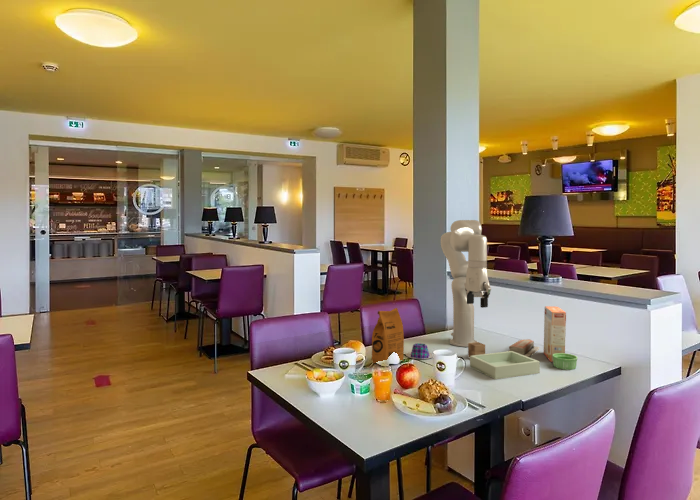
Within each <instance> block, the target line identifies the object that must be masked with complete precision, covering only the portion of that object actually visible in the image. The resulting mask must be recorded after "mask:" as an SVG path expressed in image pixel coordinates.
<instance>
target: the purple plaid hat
mask: <svg viewBox="0 0 700 500" xmlns="http://www.w3.org/2000/svg"><path fill="white" fill-rule="evenodd" d="M432 354H433V353H432V352H430V351H429V348H428V345H427V344H426V343H421V342H420V343H414V344H413V345H412V348H411V351H408V352H407V353H405V356H406V357H408V358H411V359H415V360H428V359H432V358H433V357H432Z"/></svg>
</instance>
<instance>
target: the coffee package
mask: <svg viewBox="0 0 700 500" xmlns="http://www.w3.org/2000/svg"><path fill="white" fill-rule="evenodd" d="M377 315H378V316H379V317H378V318H377V321H376V324H375V326H374V328H373V331H372V335H371V361H372V364H374V363H376V362H378V361H383V360H387V359H388V357H389V356H390V355H391V354H392V353H393V352H395V353H397V354H398V356H399V358H400V360H403V359H404V348H405V346H404V345H405V338H404V336H405V334H404V325H403V321H402V317H401V315H400V311H399V310H398V307H395V308H393V309H391V310H378V311H377ZM403 361H404V360H403Z"/></svg>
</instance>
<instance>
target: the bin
mask: <svg viewBox="0 0 700 500" xmlns="http://www.w3.org/2000/svg"><path fill="white" fill-rule="evenodd" d="M540 363H541V362H540V361H539V360H537V359H535V358H533V357H527V356H524V355H521V354H519V353H516V352H513V351H509V350H507V351H500V352H491V353H485V354H481V355H472V356H470V358H469V367H470V368H471V369H474V370H476V371H478V372H479V373H482V374H484V375H485V376H488V377H490V379H491V378H492V379H494V380H501V379H509V378H515V377H516V378H517V377H521V376H523V377H524V376H529V375H535V374H540V372H541V371H540V370H541V365H540Z"/></svg>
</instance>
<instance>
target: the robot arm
mask: <svg viewBox="0 0 700 500" xmlns="http://www.w3.org/2000/svg"><path fill="white" fill-rule="evenodd" d="M482 227H483V226H482V225H481V222H480V221H478V220H475V219H460V220H456V221H454V222H453V223H451V226H450V231H447V232H445V233H443V234H442V235H441V236H440V246H441V250H442V252H443V255H444V256H445V258H446V261H447V262H448V266H449V270H450V274H451V276H452V278H453V280H451V292H452V301H453V303H452V304H453V306H452V307H453V310H452V311H453V313H452V315H453V316H452V317H453V319H452V321H453V328H452V329H453V332H450V335H451V337H452V338H451V339H450V340H449V343H450V345H452V346H456V347H463V348H465V347H467V348H468V343H474V342H478V341H477V340H476V339H475V307H474V303H475V298H480V308H481V309H482V308H483V309H484V308H488V306H489V297H490V295H491V291H492V287H491V285H490V281H489V278H488V270H487V269H488V264H487V263H488V261H487V260H488V254H487V253H488V239H487V236H486V235H483V234H482V230H483V228H482ZM464 252H466V253H467V254H468V255H467V260H466V256H465V254H463V253H464Z"/></svg>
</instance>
